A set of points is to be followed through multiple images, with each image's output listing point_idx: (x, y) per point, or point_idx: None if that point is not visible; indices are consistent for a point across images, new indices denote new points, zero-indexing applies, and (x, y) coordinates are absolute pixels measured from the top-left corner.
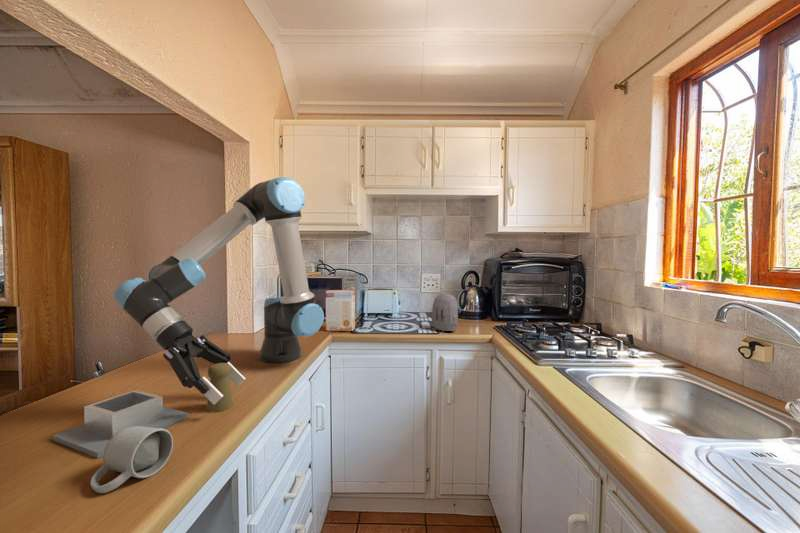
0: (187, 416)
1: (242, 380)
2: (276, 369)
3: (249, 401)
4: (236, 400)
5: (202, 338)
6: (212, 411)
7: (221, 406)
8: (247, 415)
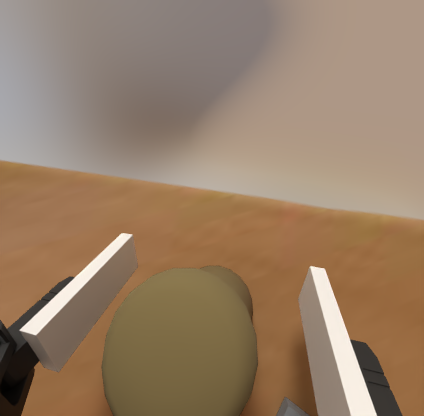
0: (289, 401)
1: (132, 243)
2: None
3: (187, 224)
4: (172, 266)
5: None
6: (251, 318)
7: (246, 290)
8: (282, 203)
